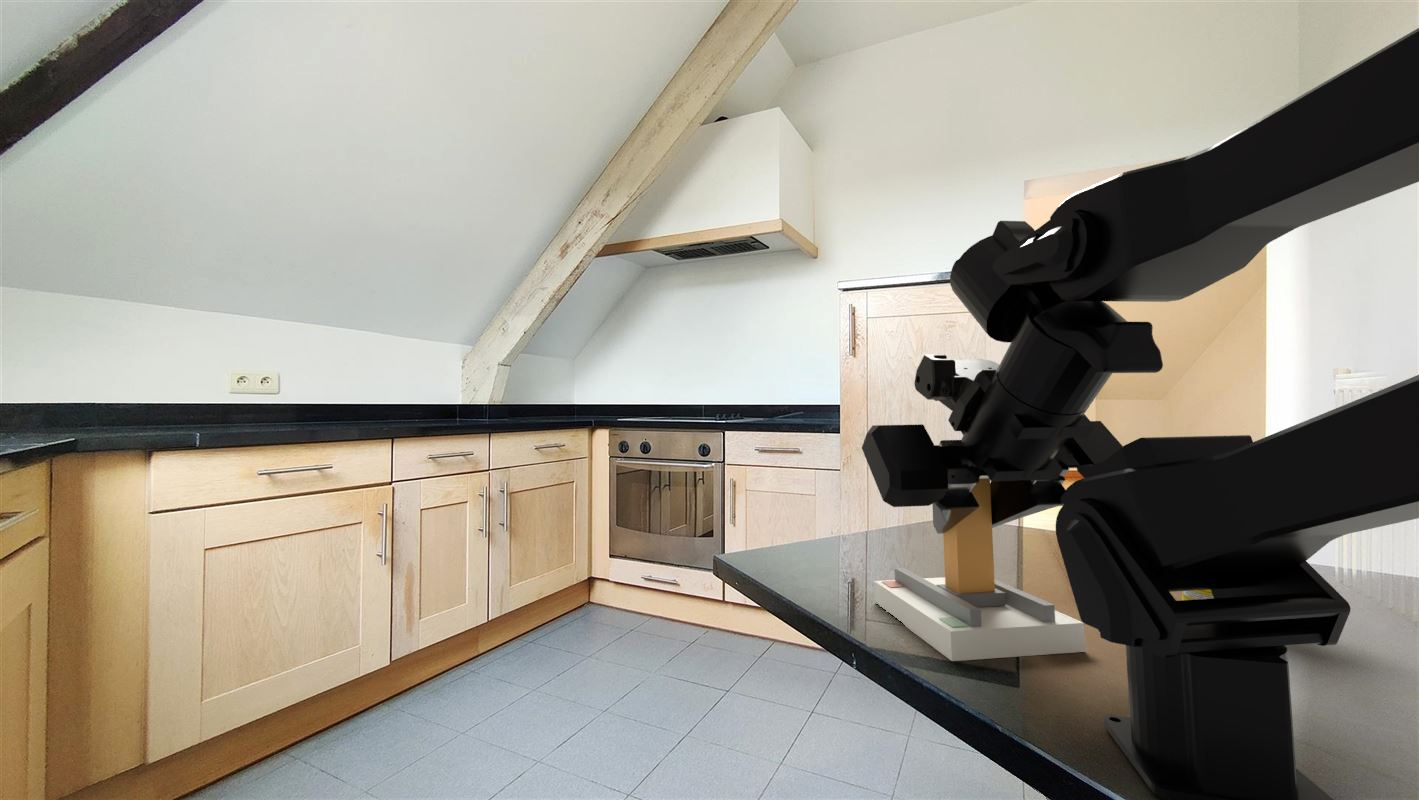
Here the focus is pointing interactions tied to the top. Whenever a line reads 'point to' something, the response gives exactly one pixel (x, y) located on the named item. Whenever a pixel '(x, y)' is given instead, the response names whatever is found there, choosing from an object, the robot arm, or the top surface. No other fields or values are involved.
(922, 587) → the plate
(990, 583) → the handle
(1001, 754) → the top surface
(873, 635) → the top surface
